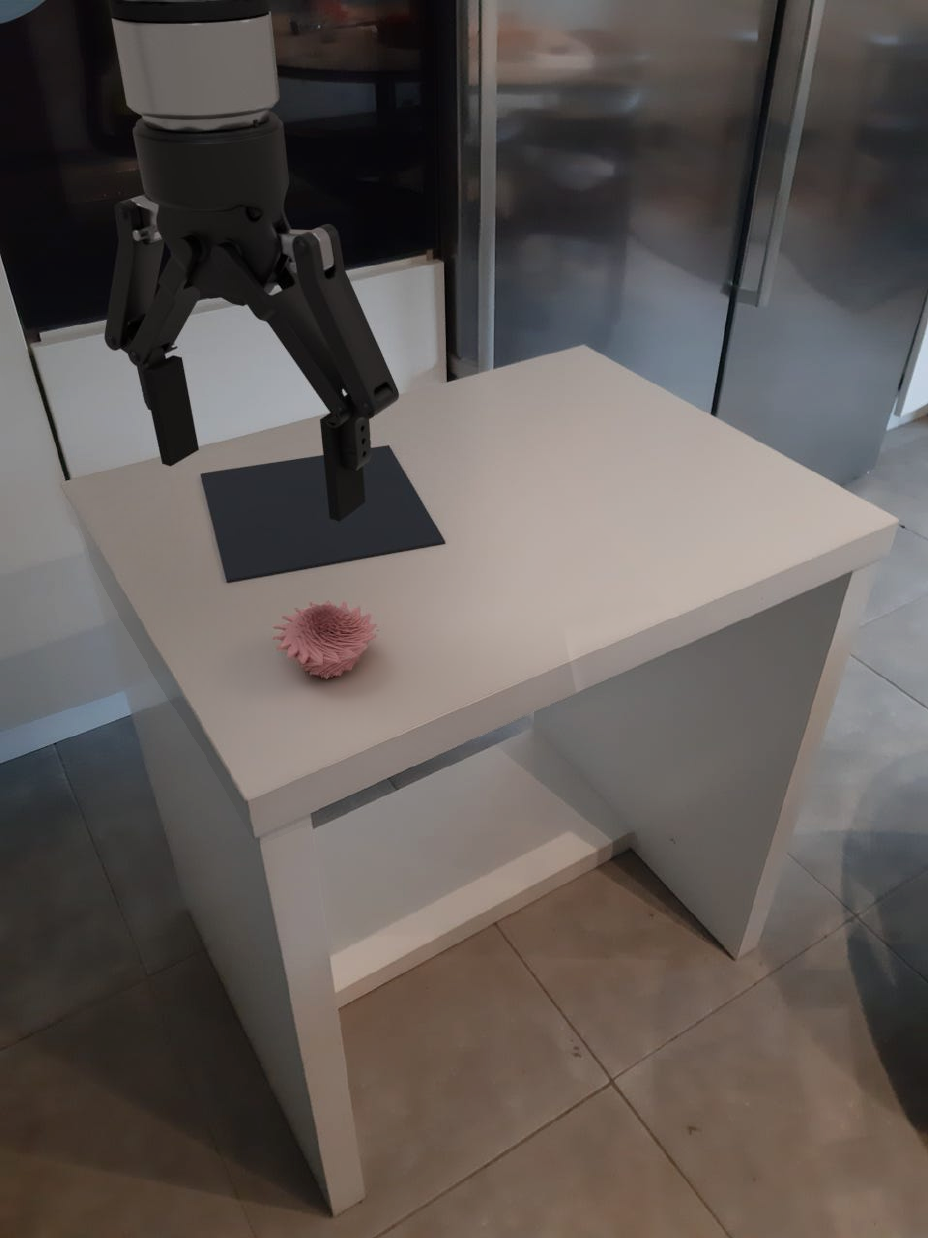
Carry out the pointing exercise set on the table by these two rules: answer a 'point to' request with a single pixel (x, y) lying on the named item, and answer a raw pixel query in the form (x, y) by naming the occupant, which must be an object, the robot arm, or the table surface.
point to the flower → (326, 638)
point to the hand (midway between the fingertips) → (260, 482)
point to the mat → (311, 516)
